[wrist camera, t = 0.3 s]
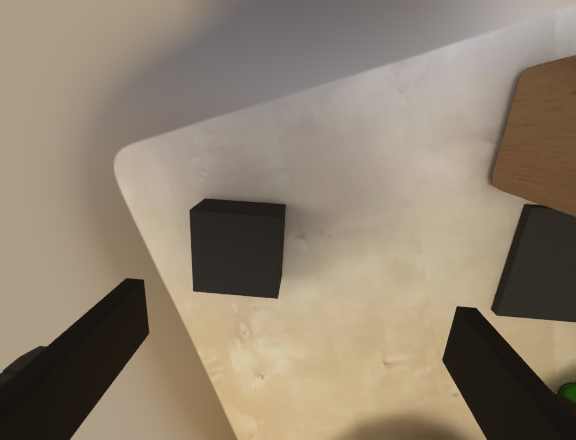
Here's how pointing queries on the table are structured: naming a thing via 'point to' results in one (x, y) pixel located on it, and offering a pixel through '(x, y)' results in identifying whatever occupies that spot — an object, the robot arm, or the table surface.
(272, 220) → the foam pad
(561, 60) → the wooden block
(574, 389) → the piggy bank
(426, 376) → the table surface
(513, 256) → the black tray
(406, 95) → the table surface
